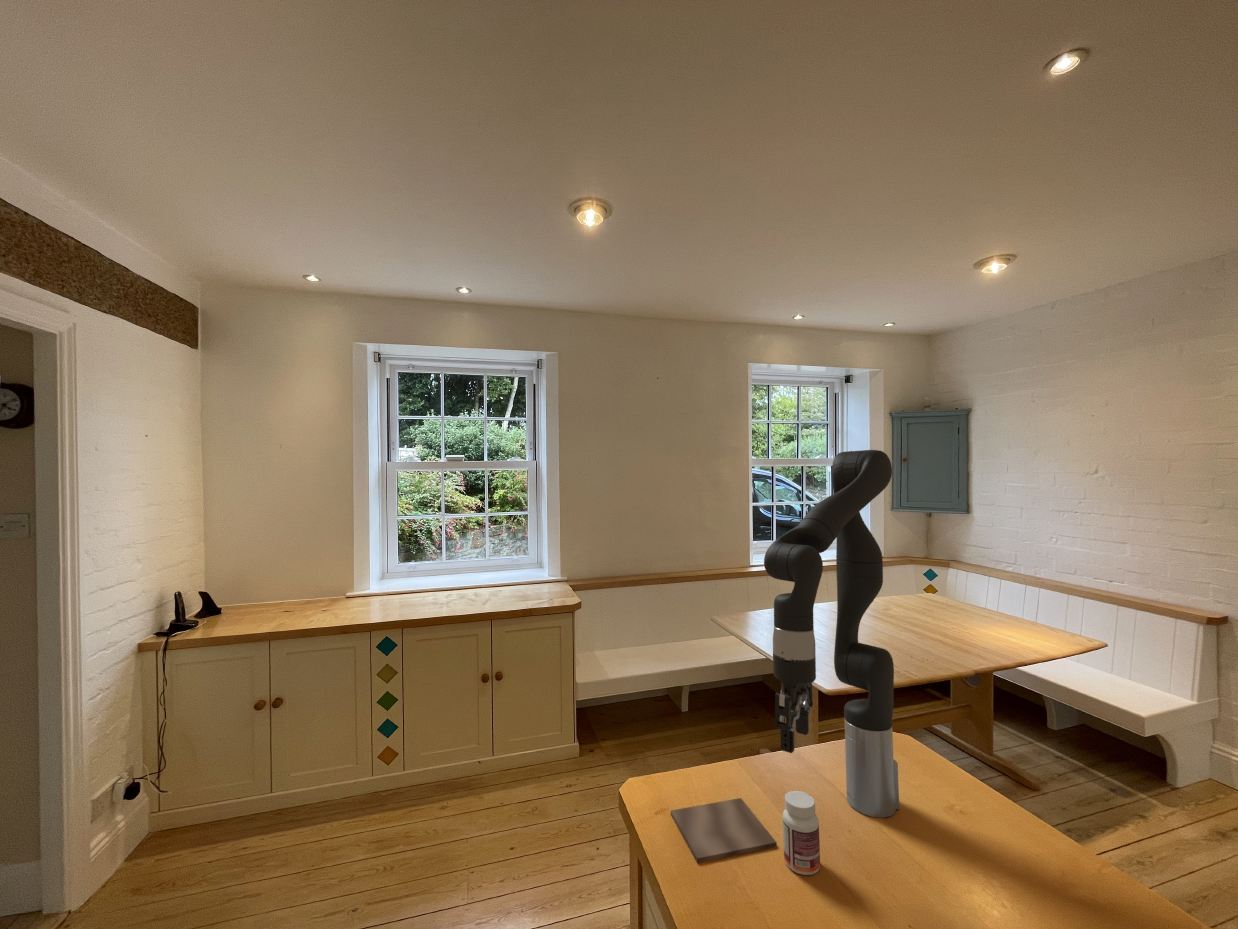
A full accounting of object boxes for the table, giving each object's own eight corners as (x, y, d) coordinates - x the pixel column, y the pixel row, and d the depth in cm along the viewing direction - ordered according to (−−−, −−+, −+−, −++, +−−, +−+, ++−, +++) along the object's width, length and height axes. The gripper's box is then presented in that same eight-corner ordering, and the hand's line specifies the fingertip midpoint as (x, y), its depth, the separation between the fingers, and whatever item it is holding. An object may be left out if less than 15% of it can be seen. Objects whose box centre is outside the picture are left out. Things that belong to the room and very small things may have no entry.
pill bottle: (827, 867, 90) (825, 801, 90) (805, 882, 86) (803, 814, 87) (798, 846, 95) (796, 785, 95) (776, 860, 92) (774, 796, 92)
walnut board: (741, 801, 109) (740, 798, 109) (776, 846, 95) (776, 842, 95) (670, 814, 105) (670, 810, 105) (697, 863, 91) (697, 858, 91)
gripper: (786, 640, 102) (787, 723, 101) (760, 657, 91) (760, 751, 90) (825, 646, 98) (826, 733, 96) (802, 666, 86) (804, 764, 85)
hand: (795, 742), depth 93 cm, fingers open, 8 cm apart
